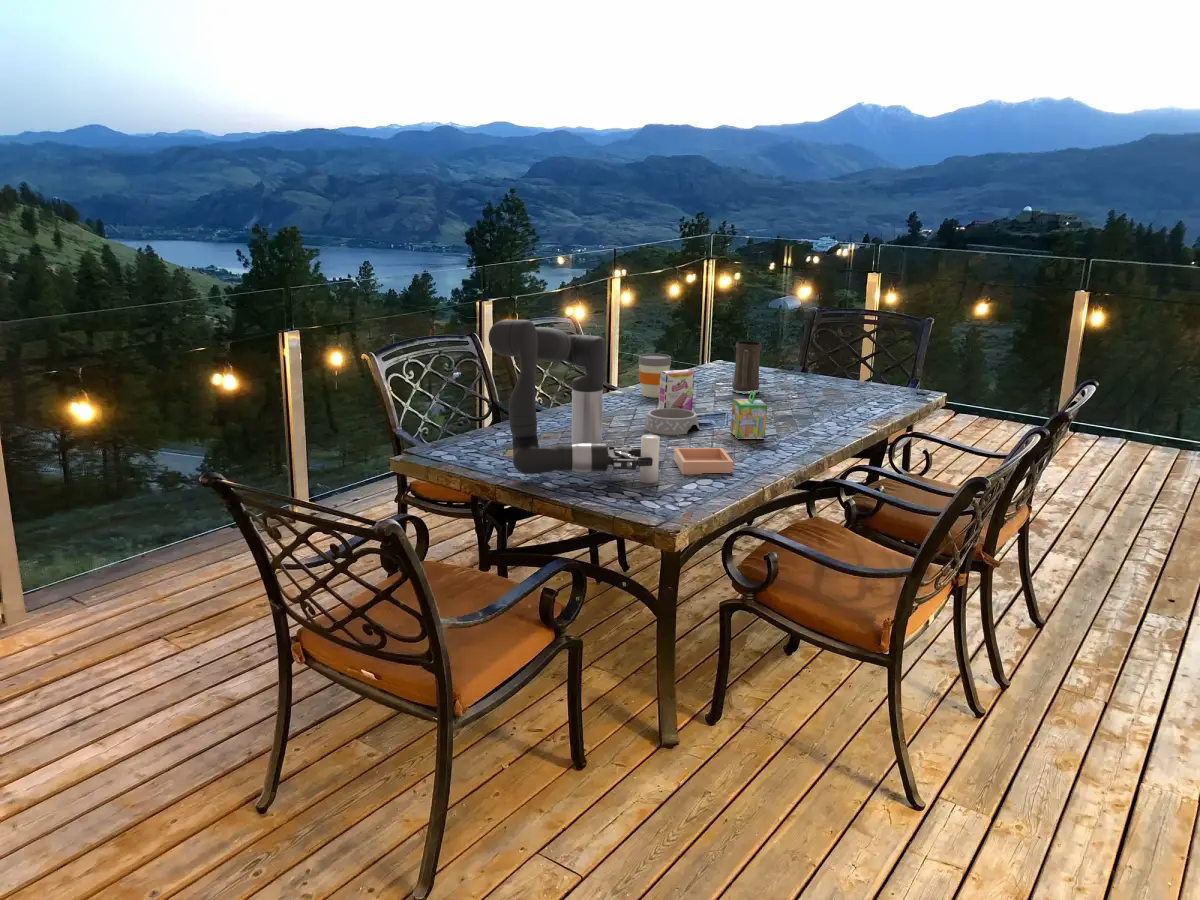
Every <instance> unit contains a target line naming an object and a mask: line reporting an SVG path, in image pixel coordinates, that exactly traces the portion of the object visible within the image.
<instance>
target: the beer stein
mask: <svg viewBox="0 0 1200 900" xmlns="http://www.w3.org/2000/svg"><path fill="white" fill-rule="evenodd" d="M735 349H736V352H735V364H734V373H733V374H734V376H733V382H732V388H733V389H734V390H738V391H751V390H752V391H754V390H758V389H759V390H760V362H761V361H760V360H761V358H760V357H761V351H762V349H763V347H762V342H759V341H756V340H740V341H737V342H736V343H735Z"/></svg>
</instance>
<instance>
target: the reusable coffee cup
mask: <svg viewBox="0 0 1200 900" xmlns="http://www.w3.org/2000/svg"><path fill="white" fill-rule="evenodd" d="M637 363H638V365H639V366H638V367H639V368H638V378H639V383H640V390H641V396H642V397H645V396H646V397H647V398H659V385H660V371H670V370H671V369H670V368H671V365H672V357H671V355H668V354H664V353H663V354H662V353H643V354H640V355H638V361H637ZM646 397H645V398H646Z"/></svg>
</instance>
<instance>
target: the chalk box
mask: <svg viewBox="0 0 1200 900" xmlns="http://www.w3.org/2000/svg"><path fill="white" fill-rule="evenodd" d="M756 395H757V394H756V393H755V392H754V391H752V390H751V392H750V395H749V396H748V398H732V407H731V418H730V427H729V429H730V430H729V432H730V431H731V432H732V433H733V434H734V435H735V436H736V437H737V438H751V437H765V436H766V423H767V411H768V404H766V402H764V401H763V400H762V399H760V398H756ZM765 438H766V437H765Z"/></svg>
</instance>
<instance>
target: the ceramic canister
mask: <svg viewBox="0 0 1200 900" xmlns="http://www.w3.org/2000/svg"><path fill="white" fill-rule="evenodd" d="M640 439H641V440H640V441H641V442H640V448H641V457H651V458H652V459H653V463H652V466H639V467H640V469H639V481H640V482H641V483H645V484H654V483H655V484H656V483H658V481H659V462H660V459H659V458H660V440H661V437H660V436H658V435H656V434H643V435H641V438H640Z"/></svg>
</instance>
